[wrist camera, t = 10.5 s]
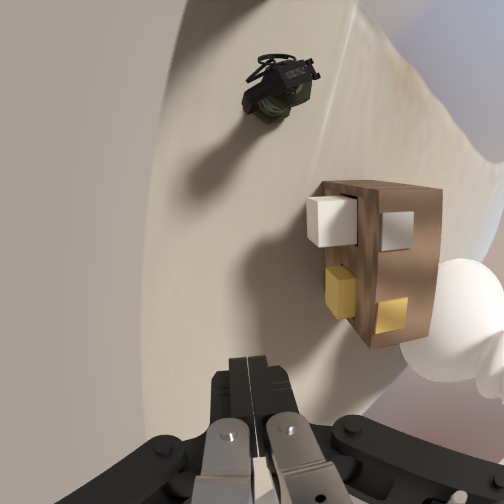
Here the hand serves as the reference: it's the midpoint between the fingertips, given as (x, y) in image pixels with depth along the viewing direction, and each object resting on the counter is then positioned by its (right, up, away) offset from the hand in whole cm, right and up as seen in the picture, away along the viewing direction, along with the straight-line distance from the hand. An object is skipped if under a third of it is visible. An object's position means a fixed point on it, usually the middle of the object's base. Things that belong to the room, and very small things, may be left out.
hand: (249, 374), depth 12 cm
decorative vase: (+28, -2, +33) cm, 43 cm away
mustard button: (+12, +1, +24) cm, 26 cm away
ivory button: (+9, +9, +21) cm, 25 cm away
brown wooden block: (+13, +7, +29) cm, 33 cm away
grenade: (+2, +23, +24) cm, 34 cm away
